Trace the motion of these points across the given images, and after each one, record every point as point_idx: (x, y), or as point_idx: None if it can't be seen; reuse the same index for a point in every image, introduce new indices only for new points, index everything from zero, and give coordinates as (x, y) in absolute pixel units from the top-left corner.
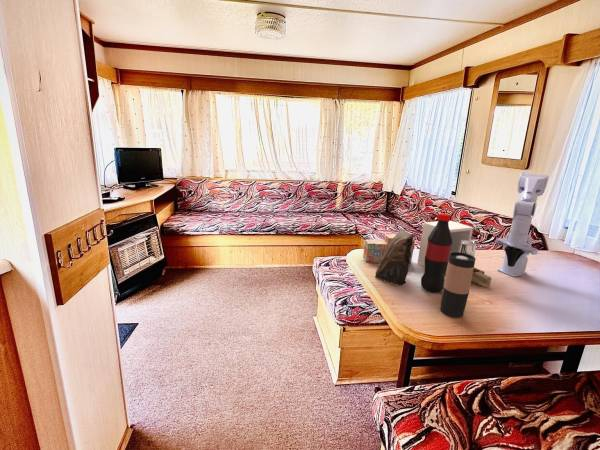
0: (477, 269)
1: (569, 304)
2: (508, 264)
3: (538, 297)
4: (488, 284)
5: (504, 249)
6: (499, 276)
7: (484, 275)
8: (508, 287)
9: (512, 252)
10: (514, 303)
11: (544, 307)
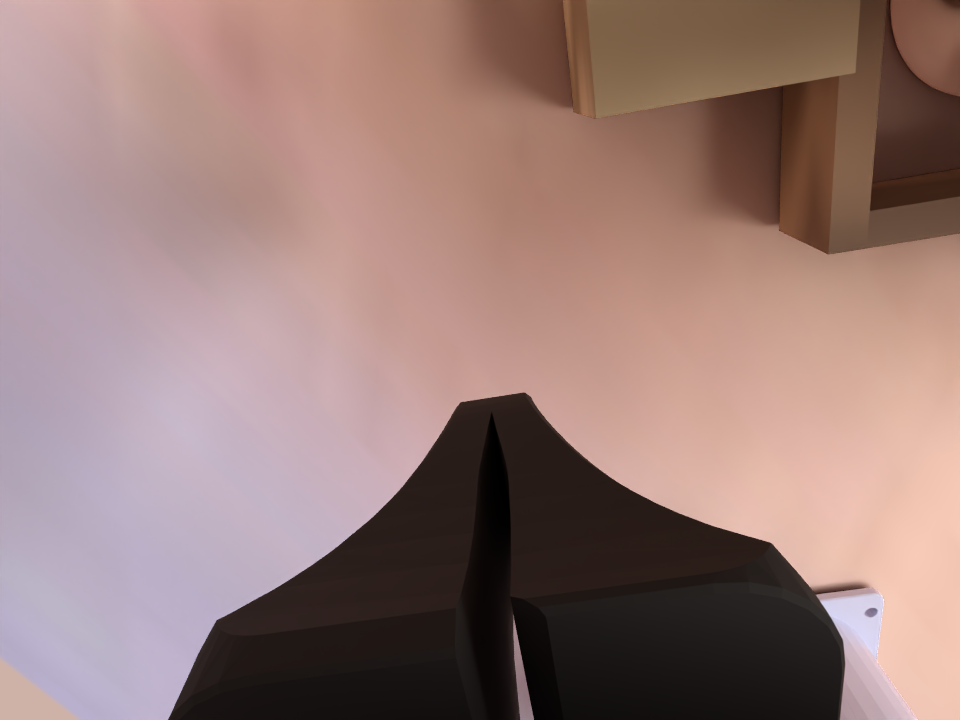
0: (939, 212)
1: (115, 592)
2: (511, 400)
3: (252, 454)
4: (574, 74)
5: (773, 546)
6: (751, 488)
7: (698, 59)
8: (502, 348)
9: (401, 589)
10: (112, 28)
11: (36, 317)
